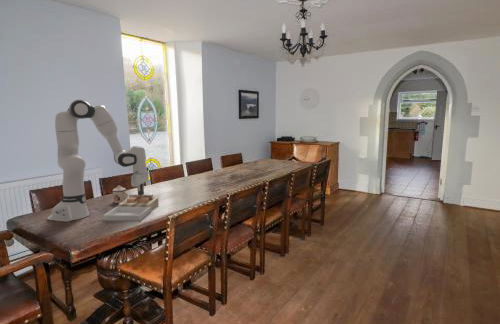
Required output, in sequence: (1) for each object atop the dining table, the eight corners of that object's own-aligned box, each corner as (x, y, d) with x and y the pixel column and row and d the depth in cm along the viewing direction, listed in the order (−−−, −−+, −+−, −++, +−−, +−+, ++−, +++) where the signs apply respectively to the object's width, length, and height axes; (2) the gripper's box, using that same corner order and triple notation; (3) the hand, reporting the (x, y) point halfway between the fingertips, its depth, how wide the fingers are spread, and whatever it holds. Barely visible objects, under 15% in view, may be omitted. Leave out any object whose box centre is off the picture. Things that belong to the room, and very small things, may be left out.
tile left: (126, 202, 194) (126, 199, 194) (130, 200, 199) (130, 197, 199) (134, 202, 194) (134, 199, 194) (137, 200, 199) (137, 197, 199)
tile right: (138, 202, 194) (138, 199, 194) (141, 200, 199) (141, 197, 199) (146, 202, 194) (146, 199, 194) (149, 200, 199) (149, 197, 198)
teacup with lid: (110, 202, 211) (109, 186, 209) (120, 199, 220) (119, 183, 218) (122, 204, 207) (121, 188, 205) (132, 200, 215) (131, 185, 213)
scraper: (128, 199, 201) (127, 184, 199) (130, 197, 204) (129, 183, 202) (151, 199, 200) (151, 185, 198) (153, 198, 203) (152, 184, 201)
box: (103, 220, 174) (103, 215, 174) (117, 211, 191) (117, 206, 190) (140, 221, 173) (139, 215, 173) (150, 212, 190) (150, 206, 189)
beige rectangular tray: (119, 211, 191) (118, 204, 190) (130, 203, 208) (130, 197, 207) (149, 212, 190) (148, 204, 189) (158, 204, 207) (158, 197, 206)
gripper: (137, 173, 188) (138, 193, 190) (149, 167, 208) (150, 186, 211) (127, 172, 189) (129, 193, 191) (140, 167, 209) (142, 186, 211)
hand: (140, 189), depth 201 cm, fingers closed on scraper, 3 cm apart
